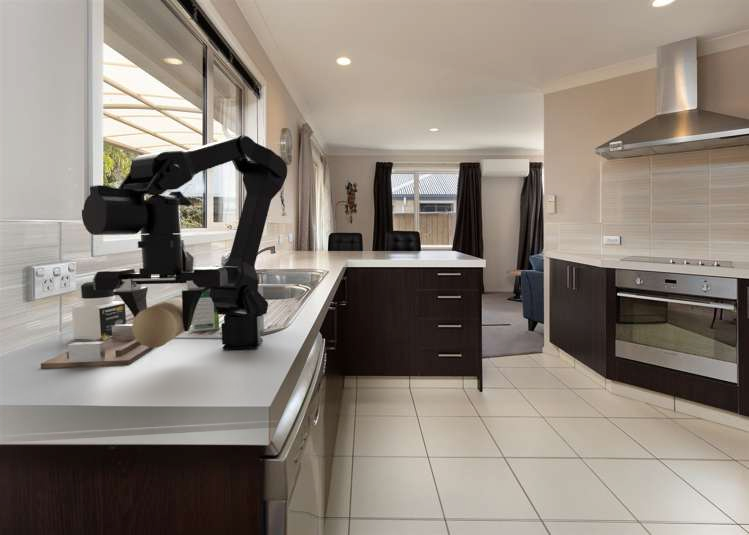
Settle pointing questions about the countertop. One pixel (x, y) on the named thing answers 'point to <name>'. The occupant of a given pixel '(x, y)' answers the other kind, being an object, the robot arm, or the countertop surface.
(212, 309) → the syrup box
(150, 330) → the paper roll
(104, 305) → the medicine bottle
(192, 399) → the countertop surface
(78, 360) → the holder stand
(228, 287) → the robot arm
